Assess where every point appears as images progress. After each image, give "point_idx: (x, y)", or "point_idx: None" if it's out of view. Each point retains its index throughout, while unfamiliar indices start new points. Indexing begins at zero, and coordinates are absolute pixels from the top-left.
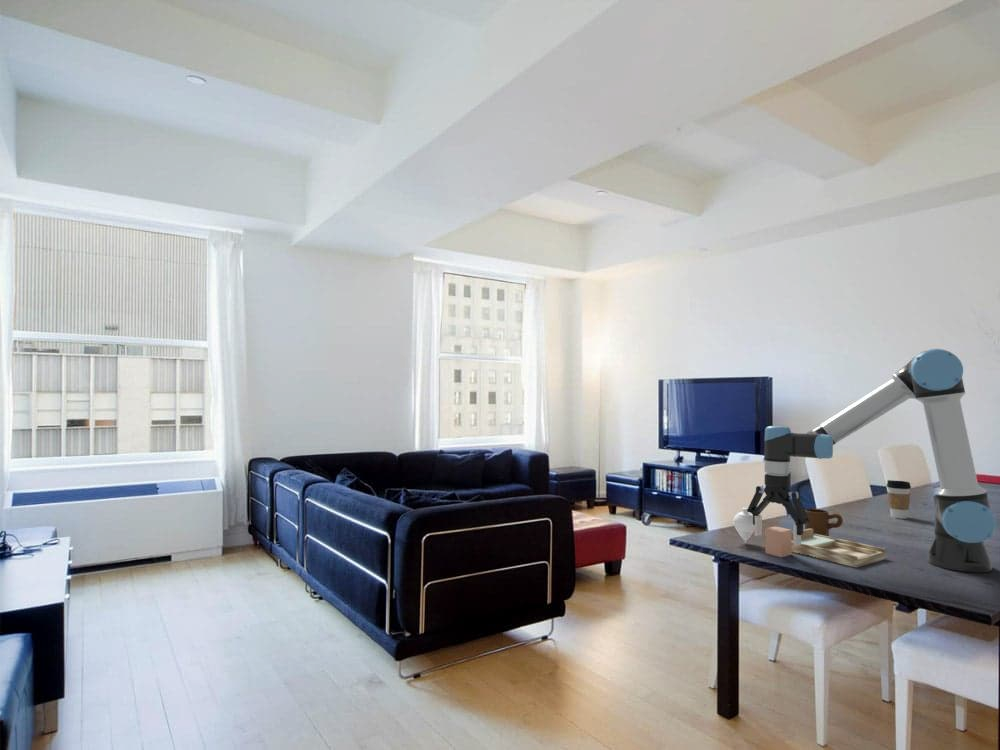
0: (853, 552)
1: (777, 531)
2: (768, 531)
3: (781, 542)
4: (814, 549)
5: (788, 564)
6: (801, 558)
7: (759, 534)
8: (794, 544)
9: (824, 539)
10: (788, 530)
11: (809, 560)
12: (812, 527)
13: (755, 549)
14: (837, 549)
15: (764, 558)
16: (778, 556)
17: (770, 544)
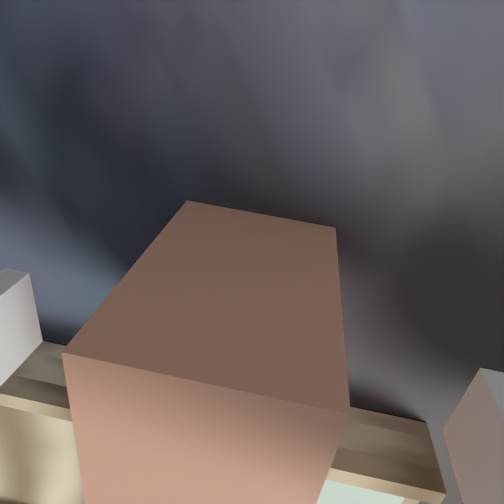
0: (9, 488)
1: (124, 362)
2: (288, 369)
3: (135, 271)
4: (36, 385)
5: (15, 15)
6: (90, 274)
7: (462, 414)
8: (9, 275)
9: None
10: (80, 470)
11: (34, 264)
12: None
13: (451, 281)
14: (76, 498)
15: (261, 36)
16: (212, 206)
17: (277, 263)
